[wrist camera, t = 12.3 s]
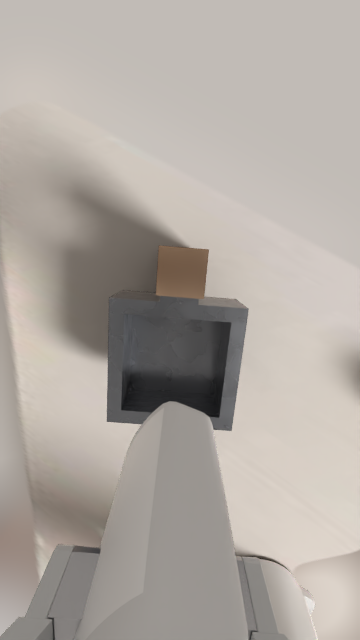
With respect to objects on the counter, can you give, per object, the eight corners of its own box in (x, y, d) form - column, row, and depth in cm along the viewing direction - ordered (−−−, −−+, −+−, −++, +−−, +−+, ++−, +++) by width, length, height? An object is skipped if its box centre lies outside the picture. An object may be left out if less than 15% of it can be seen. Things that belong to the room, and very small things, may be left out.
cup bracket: (217, 383, 32) (241, 465, 19) (127, 376, 32) (91, 454, 19) (233, 256, 29) (274, 255, 16) (132, 248, 28) (92, 240, 16)
